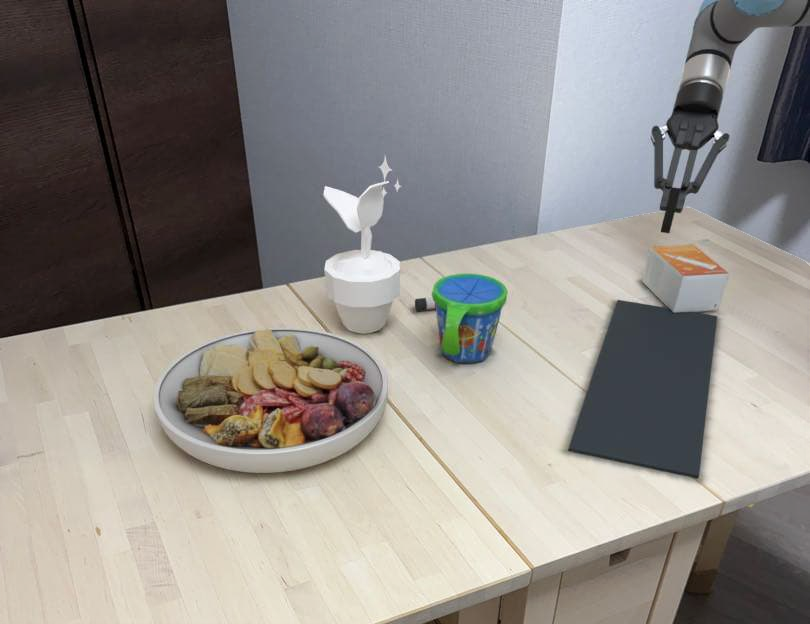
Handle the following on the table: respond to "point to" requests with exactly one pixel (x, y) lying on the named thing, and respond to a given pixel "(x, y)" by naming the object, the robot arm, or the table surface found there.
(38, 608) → the table surface
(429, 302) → the marker
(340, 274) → the potted plant
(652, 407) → the slate mat
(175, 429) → the bowl
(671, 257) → the small box
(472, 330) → the snack cup
